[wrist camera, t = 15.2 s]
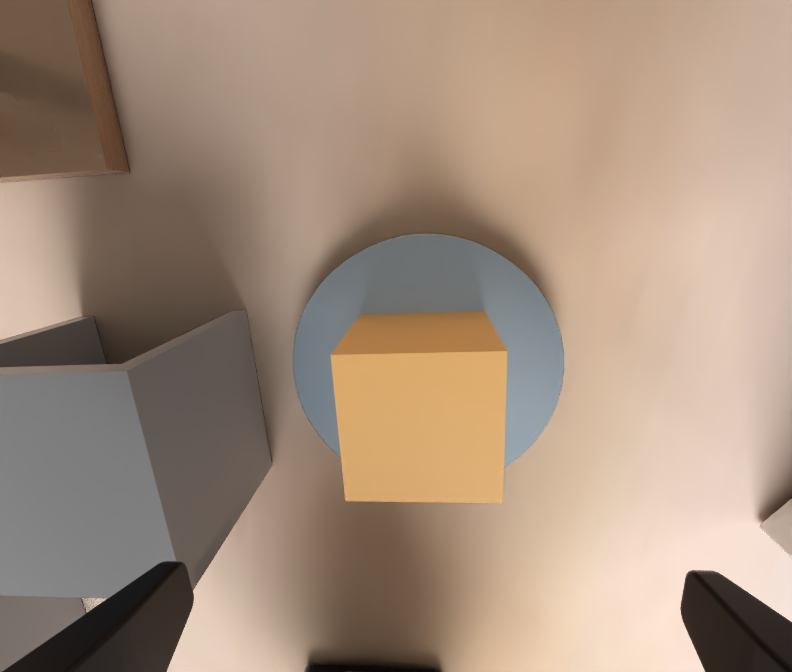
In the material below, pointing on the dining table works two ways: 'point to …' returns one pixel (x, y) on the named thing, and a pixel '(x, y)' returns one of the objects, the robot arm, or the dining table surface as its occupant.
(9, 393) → the grey cube box
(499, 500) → the orange block
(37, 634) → the hiding cup
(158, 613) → the robot arm
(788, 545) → the milk carton
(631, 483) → the dining table surface
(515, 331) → the slate dish
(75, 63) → the balance scale
